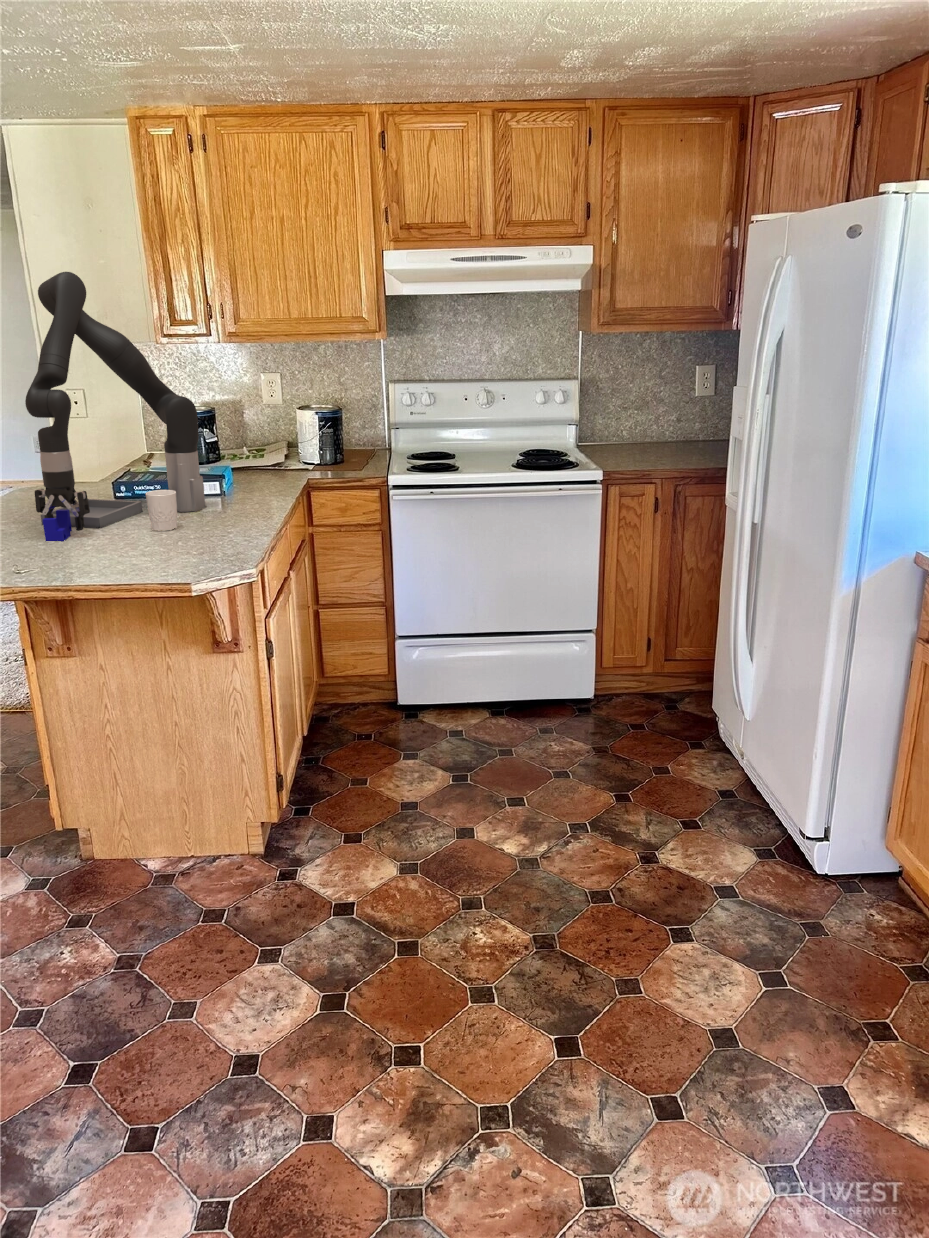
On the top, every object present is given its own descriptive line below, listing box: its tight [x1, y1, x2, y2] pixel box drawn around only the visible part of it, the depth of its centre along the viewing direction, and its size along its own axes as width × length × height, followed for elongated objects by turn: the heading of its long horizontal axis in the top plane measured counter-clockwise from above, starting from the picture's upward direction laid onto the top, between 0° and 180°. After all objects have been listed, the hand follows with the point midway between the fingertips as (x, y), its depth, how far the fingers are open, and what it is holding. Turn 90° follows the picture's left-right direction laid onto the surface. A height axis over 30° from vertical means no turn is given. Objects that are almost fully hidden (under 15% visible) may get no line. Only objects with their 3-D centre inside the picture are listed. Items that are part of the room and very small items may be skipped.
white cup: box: [145, 489, 178, 532], centre depth 251 cm, size 8×8×10 cm
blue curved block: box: [42, 510, 73, 542], centre depth 244 cm, size 12×4×6 cm, turn 5°
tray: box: [40, 498, 144, 529], centre depth 264 cm, size 18×22×3 cm
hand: (65, 529), depth 244 cm, fingers open, 8 cm apart
